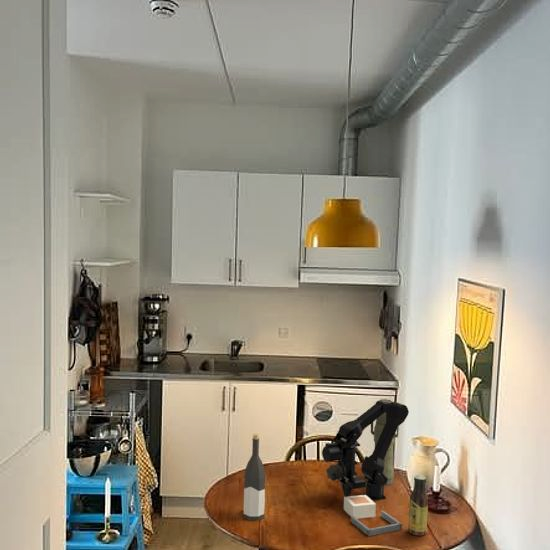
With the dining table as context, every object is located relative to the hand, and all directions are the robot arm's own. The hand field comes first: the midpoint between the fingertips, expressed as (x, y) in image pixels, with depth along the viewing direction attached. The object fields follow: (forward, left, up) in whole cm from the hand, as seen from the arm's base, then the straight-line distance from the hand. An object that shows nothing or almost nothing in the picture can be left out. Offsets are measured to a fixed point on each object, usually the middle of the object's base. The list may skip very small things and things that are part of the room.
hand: (346, 497), depth 225 cm
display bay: (0, +20, -2) cm, 20 cm away
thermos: (-26, -13, -2) cm, 29 cm away
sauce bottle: (-11, +30, -2) cm, 32 cm away
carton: (0, +9, -2) cm, 10 cm away
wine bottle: (+38, -2, -2) cm, 38 cm away
